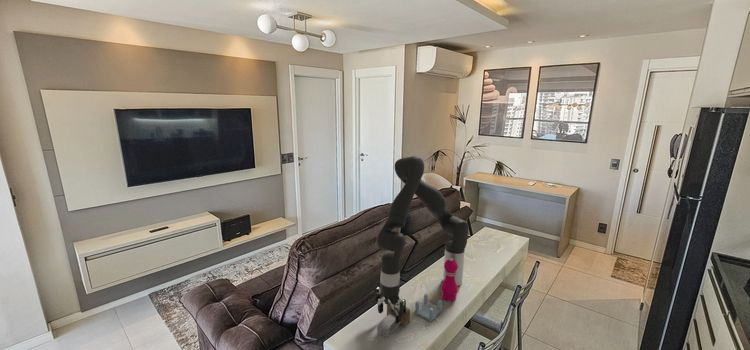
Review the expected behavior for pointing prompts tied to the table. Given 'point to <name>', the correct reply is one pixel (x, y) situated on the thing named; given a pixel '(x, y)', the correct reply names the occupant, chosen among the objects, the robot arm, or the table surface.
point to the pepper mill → (449, 280)
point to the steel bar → (387, 325)
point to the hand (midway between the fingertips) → (389, 317)
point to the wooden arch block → (405, 318)
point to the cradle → (428, 309)
